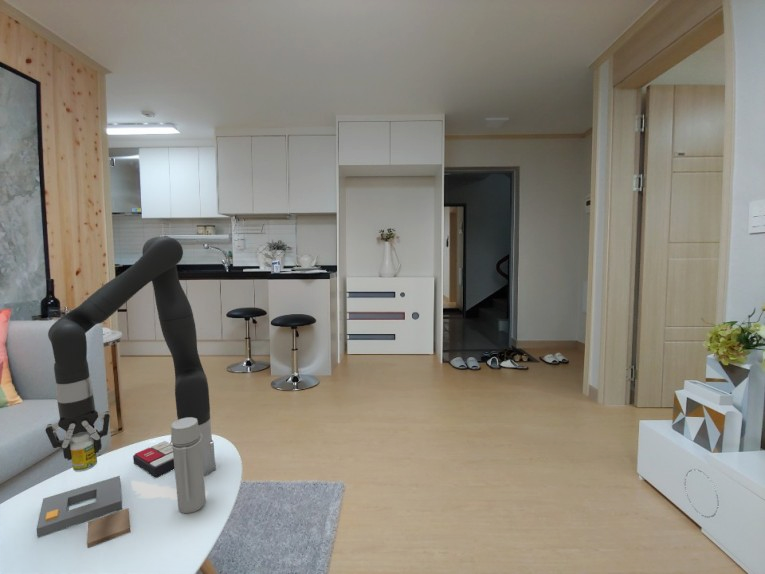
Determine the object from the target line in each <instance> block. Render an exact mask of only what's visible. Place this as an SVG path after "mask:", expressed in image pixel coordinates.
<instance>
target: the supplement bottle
mask: <svg viewBox="0 0 765 574" xmlns="http://www.w3.org/2000/svg"><path fill="white" fill-rule="evenodd" d="M70 453H71V463H72V470H73V471H74V472H76V473H80V472H86V471H89V470H91V469H93V468H94V467H96V465H97V464H98V458H97V453H96V452H95V444H94V438H93V436H92V435H90V433H89V432H88V431H86V432H79V433H77V434H74V435H73V434H72V436H71V443H70Z"/></svg>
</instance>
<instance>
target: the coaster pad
mask: <svg viewBox="0 0 765 574" xmlns="http://www.w3.org/2000/svg"><path fill="white" fill-rule="evenodd" d="M129 510H130V509H129V508H128V507H127V508H124V509H121V510H118V511H115V512H112V513H109V514H106V515H103V516H100V517H97V518H94V519H91V520H88V521H87V533H86V535H87V538H86V546H87V549H89V548H92V547H94V546H97V545H99V544H103V543H104V542H108V541H110V540H113V539H116V538H118V537H121V536H123V535H126V534H128V533H131V532H132V531H131V521H130V511H129Z"/></svg>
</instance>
